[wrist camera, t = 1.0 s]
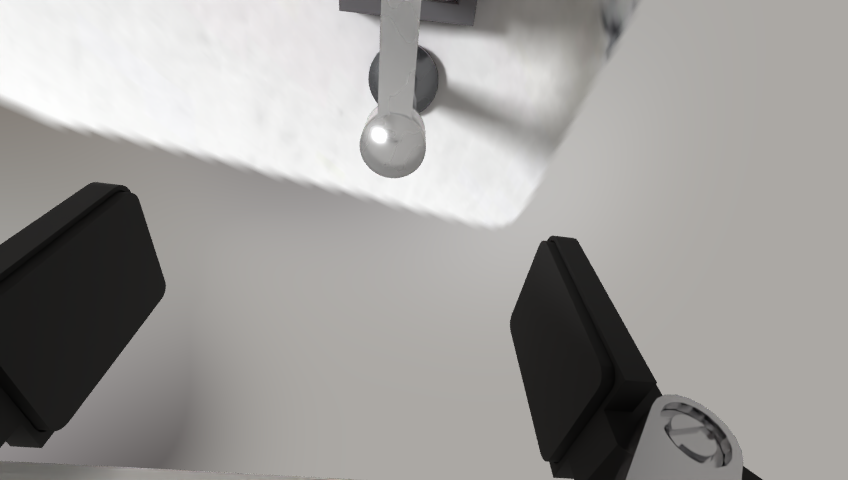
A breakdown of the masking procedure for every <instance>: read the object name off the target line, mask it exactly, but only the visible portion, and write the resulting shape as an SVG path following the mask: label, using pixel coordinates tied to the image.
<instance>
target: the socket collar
mask: <svg viewBox="0 0 848 480" xmlns="http://www.w3.org/2000/svg"><path fill="white" fill-rule="evenodd" d="M476 3H477V0H456V2H454V1H446V0H421V11H420V20H426V21H435V22H444V23H452V24H461V25H470V26H473V23H474V16H475V10H476ZM339 11H347V12H356V13H364V14H373V15H381V0H339Z"/></svg>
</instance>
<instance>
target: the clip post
mask: <svg viewBox="0 0 848 480" xmlns="http://www.w3.org/2000/svg"><path fill="white" fill-rule="evenodd" d="M379 55H380V51H379V53H378V54H377V55H376V56H375V58H374V60H373V62H372V64H371V67H370V71H369V87H370V90H371V93H372V95H373V97H374V99H375V100H376V102H377V103H378V86H379ZM437 87H438V74H437V69H436V66H435V63H434V61H433V59H432V58H431V56H430V55H429V54H428V52H427V51H425V50H424V49H423V48H422V47H420V46H418V48H417V60H416V72H415V84H414V97H413V108H414V109H415V110H416V111H417V112H418V113H419V112H421V111H423V110H424V109H425V108H426V107H427V106H428V105H429V104H430V103H431V102H432V100H433V99H434V96H435V94H436V91H437Z"/></svg>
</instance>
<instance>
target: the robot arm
mask: <svg viewBox="0 0 848 480" xmlns="http://www.w3.org/2000/svg"><path fill="white" fill-rule="evenodd" d="M165 287H166V285H165V280H164V277H163V274H162V270H161V267H160V264H159V261H158V258H157V255H156V252H155V249H154V245H153V242H152V239H151V236H150V233H149V230H148V227H147V224H146V221H145V218H144V214H143V211H142V208H141V205H140V202H139V199H138V197H137V196H136V195H135V194H133V193H131V192H130V190H129V189H128V188H127V187H125V186H123V185H115V184H106V183H98V182H93V183H90V184H88V185H87V186H85V187H84V188H82V189H81V190H80V191H78V192H76V193H75V194H74V195H72V196H71V197H69V198H68V199H66V200H65V201H63V202H62V203H60V204H59V205H57V206H56V207H55V208H53V209H52V210H50V211H49V212H47V213H46V214H44V215H43V216H42V217H40V218H39V219H37V220H36V221H34V222H33V223H31V224H30V225H28V226H27V227H25V228H24V229H22V230H21V231H20V232H18V233H17V234H15V235H14V236H12V237H11V238H9V239H8V240H7V241H5V242H4V243H2V244H1V245H0V447H1V446H2V445H3V444H4V442H7V443H8V444H9V445H10V446H17V447H35V448H42V447H43V446H44V444H45V443H46V442H47V440H48V439H49V438H50V436H51V435H52V434H53V433H54V431H57V430H60V429H62V428H63V427H64V426H65V425H66V424H67V423H68V422H69V421H70V419H71V418H72V417H73V415H74V414H75V413H76V411H77V410H78V409H79V407H80V406H81V405H82V403H83V402H84V401H85V399H86V398H87V397H88V395H89V394H90V393H91V392H92V390H93V389H94V388H95V386H96V385H97V384H98V382H99V381H100V380H101V378H102V377H103V376H104V374H105V373H106V372H107V370H108V369H109V368H110V366H111V365H112V364H113V362H114V361H115V360H116V358H117V357H118V356H119V354H120V353H121V352H122V351H123V349H124V348H125V347H126V345H127V344H128V343H129V341H130V340H131V339H132V337H133V336H134V335H135V333H136V332H137V331H138V329H139V328H140V327H141V325H142V324H143V323H144V321H145V320H146V319H147V317H148V316H149V315H150V313H151V312H152V311H153V309H154V308H155V307H156V305H157V304H158V303H159V302H160V300H161V299H162V297H163V295H164V293H165ZM510 330H511V334H512V338H513V342H514V346H515V351H516V355H517V359H518V363H519V367H520V371H521V375H522V379H523V383H524V387H525V391H526V396H527V399H528V404H529V408H530V412H531V416H532V420H533V424H534V428H535V432H536V436H537V440H538V445H539V449H540V452H541V456H542V457H543V459H544V460H545V461H549V462H550V466H551V469H552V474H553V477H554V478H571V479H574V480H762V479H761V478H759V477H758V476H757V475H755V474H754V473H752V472H751V471H749V470H748V469H747V468H745V467H744V466H743V457H742V451H741V448H740V446H739V444H738V442H737V439H736V438H735V436H734V435H733V434H732V432H731V431H730V430H729V428H728V427H727V426H726V425H725V423H723V421H721V420H720V419H719V418H718V417H717V416H716V415H715V414H714V413H713V412H711V411H710V410H709V409H707V408H705V407H704V406H703V405H701V404H699V403H697V402H695V401H693V400H691V399H689V398H686V397H682V396H679V395H663V396H662V394H661V392H660V391H659V389H658V387H657V385H656V383H657V382H656V380H655V378H654V377H653V375H652V373H651V371H650V369H649V368H648V366H647V364H646V362H645V360H644V359H643V357H642V355H641V353H640V352H639V350H638V348H637V346H636V344H635V343H634V341H633V339H632V337H631V336H630V334H629V332H628V330H627V328H626V326H625V325H624V323H623V321H622V319H621V317H620V316H619V314H618V312H617V310H616V309H615V307H614V305H613V303H612V301H611V300H610V298H609V297H608V294H607V292H606V291H605V289H604V287H603V285H602V283H601V282H600V280H599V278H598V276H597V275H596V273H595V271H594V269H593V267H592V266H591V264H590V262H589V260H588V258H587V257H586V255H585V253H584V251H583V249H582V248H581V246H580V244H579V242H578V241H577V240H576V239H574V238H567V237H559V236H551V237H550V238H549V239H548V240H547V241H542V242H541V243H540V245H539V247H538V250H537V253H536V255H535V257H534V260H533V263H532V265H531V268H530V270H529V273H528V275H527V278H526V280H525V283H524V285H523V288H522V291H521V293H520V295H519V298H518V301H517V303H516V306H515V308H514V311H513V313H512V316H511V320H510ZM0 480H352V479H334V478H316V477H297V476H280V475H261V474H243V473H225V472H224V473H223V472H206V471H205V472H204V471H187V470H168V469H149V468H130V467H109V466H89V465H69V464H49V463H29V462H10V461H0Z"/></svg>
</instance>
